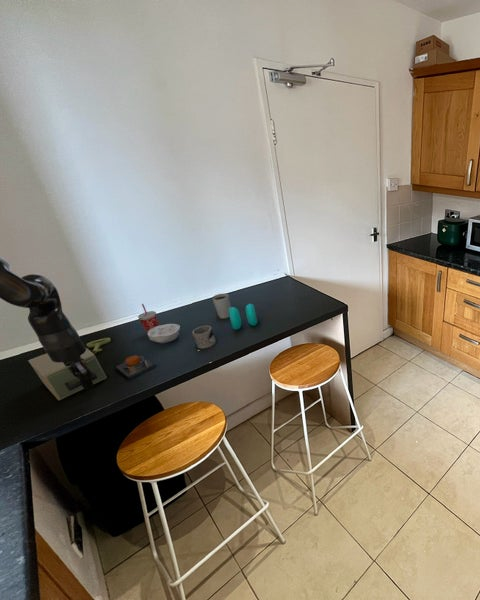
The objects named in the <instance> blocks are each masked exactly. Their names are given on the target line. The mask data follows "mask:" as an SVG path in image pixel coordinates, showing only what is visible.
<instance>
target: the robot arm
mask: <svg viewBox="0 0 480 600" xmlns="http://www.w3.org/2000/svg"><path fill="white" fill-rule="evenodd" d="M11 269H12V265H11V263H9V262H8V261H7V260H5V259H4V258H2V257H0V299H1V300H2V301H4V302H6V303H8V304H10V305H12V306H15V307H18V308H23V309H28V310H29V314H28V316H27V320H28V323H29V325H30V327H31V328H32V330H33V331H34V333H35V335H36V336H37V339H38V341H39V344H40V345H41V346H42V349H44V351H45V352H46V353H47V354H48V356H49V357H50V359H51V360H52V361H53V362H63V364H64V366H65V367H67V368H68V370H69V371H70V373H71V374H73V376H74V377H76V379H78V381H79V382H80V383H81V385H82V386H83V388H84V389H83V390H84V391H88V390H90V389H93V388H94V387H95V384H93V383H92V381H91V379H90V378H92V377H91V373H90V369H88V368H87V366H86V362H85V360H84V359H83V358H81V355H82V354H84V353H85V351H86V348H87V346H86V345H85V343H84V342H83V340H82V339H81V337H80V335H79V333H78V331H77V330H76V328H75V327H74V326H73V325H72V323H71V321H70V319H69V318H68V316H67V314H66V313H65V311H64V309H63V305H62V301H61V296H60V293H59V291H58V289H57V286H56V285H55V284H54V282H53V281H52V280H51V279H50V278H48V277H46V276H44V275H41V274H37V273H35V274H34V273H33V274H31V273H30V274H26V275H24V276H22V277H20V276H19V275H18V274H16V273H15V272H13V271H12V270H11Z"/></svg>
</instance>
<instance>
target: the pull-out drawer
mask: <svg viewBox="0 0 480 600" xmlns="http://www.w3.org/2000/svg"><path fill="white" fill-rule="evenodd" d="M85 362H86V366H87V368H88V369H90V373H91V377H92V378H90V379H91V381H92V383H93V384H94V383H95V384H97V383H99V382H101V381H100V380H102V379H104V380H106V379H105V376H104V375H103V373H102V371H101V369H100V367H99V366H98V364H97V362H96V360H95V359H94V358H92V359H88V360H85ZM47 379H48V380H49V382H50V383H51V385H52V386H53V388H54V390H55V391H56V393H57V394H58V396H59V397H60V398H61V400H63V399H65V398H67V397H69V396H71V395H70V394H72V393H74V392H76V393H78V392H80V391H82V390H84V389H83V386H82V385H81V383H80V382H79V381H78V379H76V377H74V376H73V374H71V373H70V371H69V370H68V368H66V369H64V370H61V371H59V372H57V373H54V374H52V375H49V376H47ZM98 381H99V382H98ZM102 381H103V380H102ZM96 382H97V383H96ZM95 384H94V385H95ZM81 389H82V390H81ZM79 390H80V391H79ZM77 391H78V392H77ZM74 394H75V393H74ZM68 395H69V396H68ZM72 395H73V394H72ZM66 396H67V397H66ZM64 397H65V398H64ZM62 398H63V399H62Z"/></svg>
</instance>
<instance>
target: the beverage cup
mask: <svg viewBox="0 0 480 600" xmlns="http://www.w3.org/2000/svg"><path fill="white" fill-rule="evenodd" d="M141 306H142V308H143V310H144V312H142V313H140V314H138V316H137V318H138V320H140V322H141V325H142V326H143V328H144V330H145V332H146V333H147V334H148V331H149V330H151V329H152V328H154V327H157V326H160V324H159V320H158V316H157V313H156V311H154V310H150V311H147V309H146V307H145V305H144V303H141Z"/></svg>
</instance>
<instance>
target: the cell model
mask: <svg viewBox="0 0 480 600" xmlns="http://www.w3.org/2000/svg"><path fill="white" fill-rule="evenodd" d="M180 327H181V326H180V324H176V323H166V324H161V325H160V324H159V326H157V327H154V328H152V329H151V330H149V331H148V333H147V336H148V339H149V340H150V341H152V342H154V343H155V342H156V343H158V344H166V343H170V342H173V341H175V340H176V339H178V336H179V334H180Z"/></svg>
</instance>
